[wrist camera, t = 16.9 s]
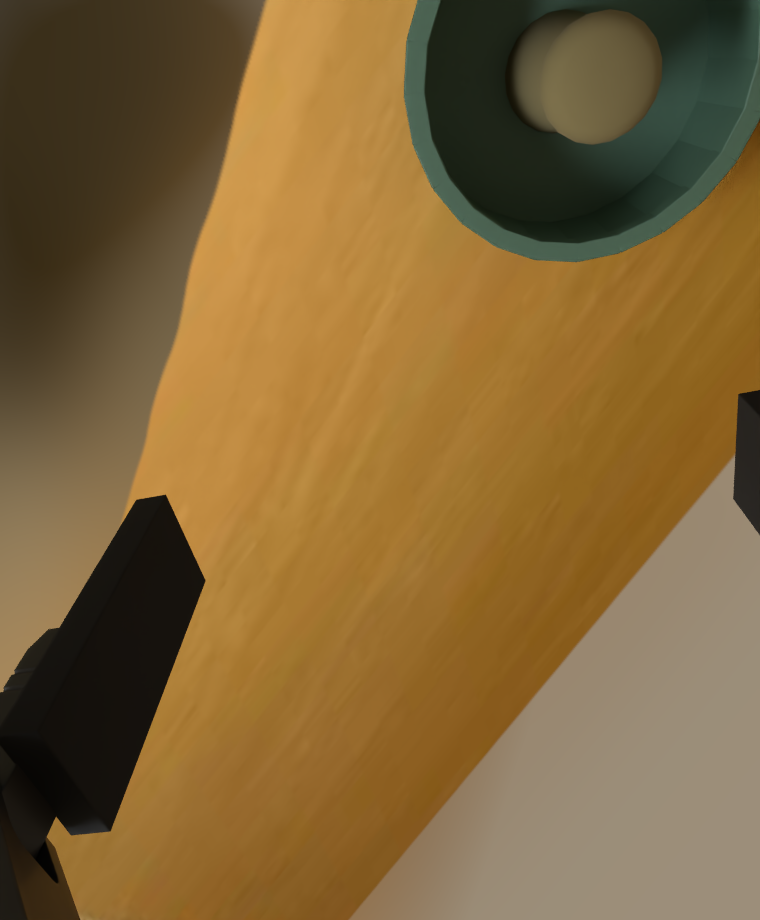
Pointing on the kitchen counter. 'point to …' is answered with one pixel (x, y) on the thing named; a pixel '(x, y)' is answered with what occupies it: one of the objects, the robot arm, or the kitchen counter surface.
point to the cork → (584, 74)
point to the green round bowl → (559, 158)
